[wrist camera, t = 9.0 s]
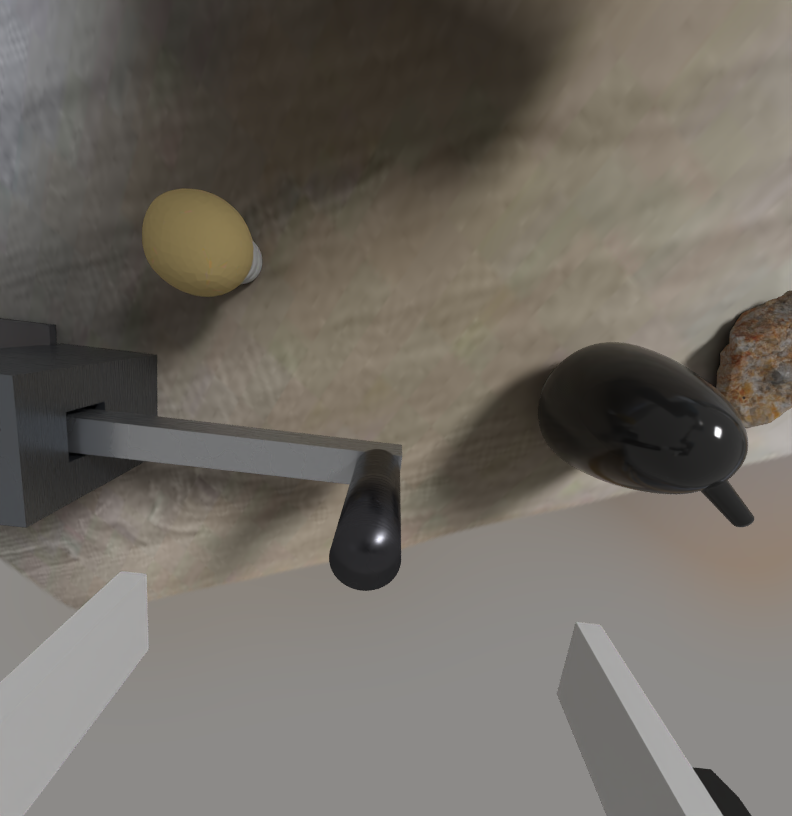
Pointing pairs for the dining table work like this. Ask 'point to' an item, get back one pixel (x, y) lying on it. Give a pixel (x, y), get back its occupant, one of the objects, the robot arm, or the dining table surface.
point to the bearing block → (62, 422)
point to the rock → (759, 362)
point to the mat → (25, 333)
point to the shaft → (272, 455)
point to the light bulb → (199, 243)
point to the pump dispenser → (645, 425)
